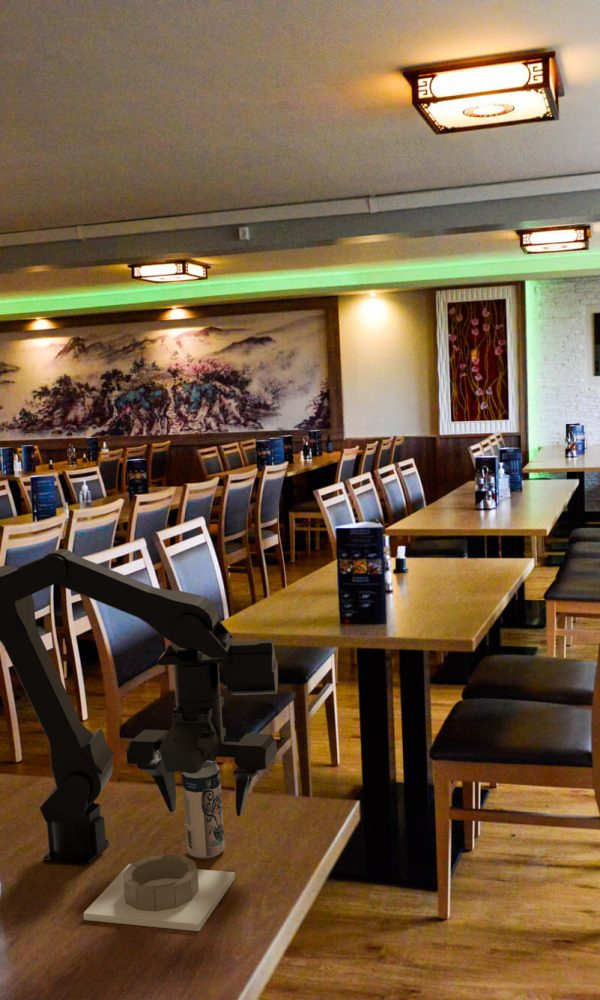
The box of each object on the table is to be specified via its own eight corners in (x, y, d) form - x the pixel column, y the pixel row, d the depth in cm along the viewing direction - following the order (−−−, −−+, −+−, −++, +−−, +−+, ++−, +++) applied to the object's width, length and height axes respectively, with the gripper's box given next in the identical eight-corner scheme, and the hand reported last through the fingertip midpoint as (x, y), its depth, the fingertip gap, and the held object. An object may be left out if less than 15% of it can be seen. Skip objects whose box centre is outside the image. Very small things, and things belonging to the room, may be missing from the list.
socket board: (84, 919, 111) (81, 892, 110) (129, 869, 122) (127, 844, 122) (198, 931, 107) (197, 902, 107) (234, 878, 118) (233, 852, 118)
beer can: (218, 862, 123) (212, 770, 122) (182, 860, 124) (176, 769, 123) (229, 844, 128) (223, 756, 126) (194, 843, 129) (188, 755, 127)
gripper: (103, 713, 119) (112, 836, 121) (248, 718, 114) (256, 845, 116) (140, 687, 130) (148, 799, 131) (274, 690, 125) (281, 807, 127)
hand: (205, 813), depth 126 cm, fingers open, 9 cm apart
